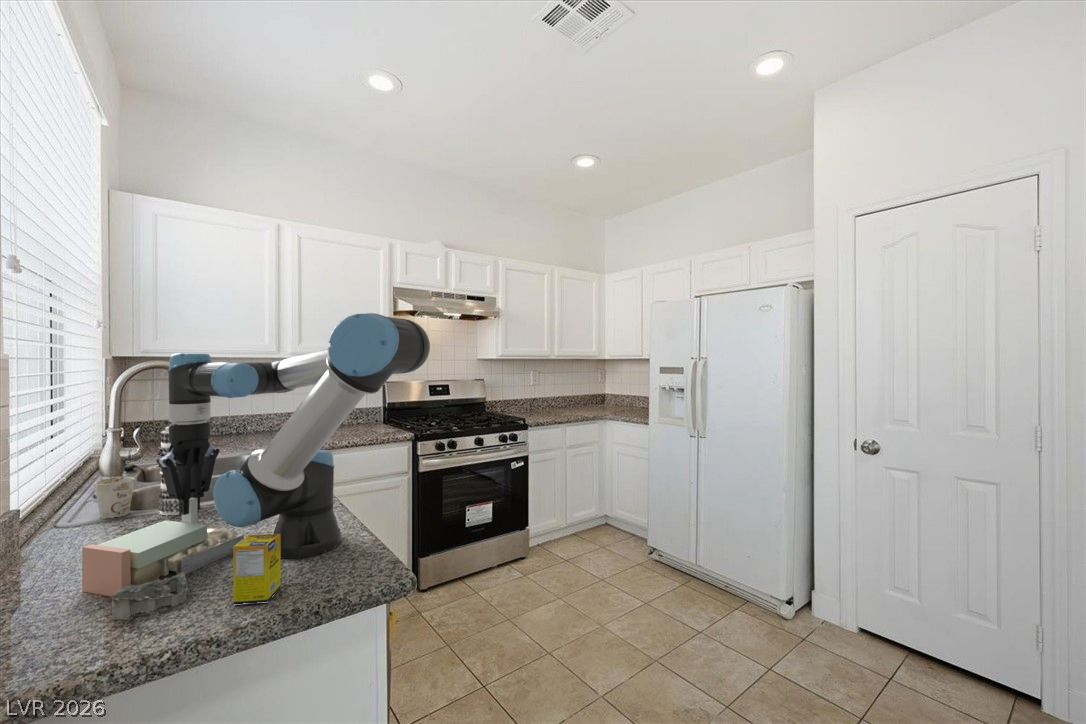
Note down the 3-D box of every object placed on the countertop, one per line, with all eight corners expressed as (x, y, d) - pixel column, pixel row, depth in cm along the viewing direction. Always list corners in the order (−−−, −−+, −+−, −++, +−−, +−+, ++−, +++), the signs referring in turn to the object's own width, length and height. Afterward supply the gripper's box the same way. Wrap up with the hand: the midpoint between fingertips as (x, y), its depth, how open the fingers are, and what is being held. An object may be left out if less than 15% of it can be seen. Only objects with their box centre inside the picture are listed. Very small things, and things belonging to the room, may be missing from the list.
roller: (166, 572, 96) (154, 554, 94) (143, 593, 92) (130, 576, 89) (132, 567, 98) (120, 550, 96) (108, 588, 94) (95, 570, 92)
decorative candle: (153, 511, 137) (154, 425, 137) (192, 504, 144) (192, 422, 144) (161, 518, 131) (161, 429, 131) (200, 510, 139) (201, 425, 138)
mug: (100, 522, 128) (100, 485, 128) (85, 514, 135) (85, 479, 135) (139, 514, 135) (139, 479, 135) (122, 506, 142) (122, 473, 142)
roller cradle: (168, 574, 98) (168, 557, 98) (126, 592, 90) (126, 574, 90) (142, 570, 99) (142, 553, 99) (98, 588, 92) (98, 570, 91)
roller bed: (243, 548, 111) (243, 526, 111) (178, 577, 96) (178, 552, 96) (198, 542, 115) (198, 521, 115) (128, 569, 100) (128, 545, 100)
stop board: (130, 594, 89) (130, 549, 89) (121, 598, 88) (121, 552, 88) (91, 587, 92) (91, 544, 92) (82, 591, 90) (82, 547, 90)
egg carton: (108, 625, 79) (108, 601, 79) (112, 607, 85) (112, 584, 85) (187, 605, 86) (187, 582, 86) (186, 589, 92) (186, 568, 92)
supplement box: (281, 588, 92) (281, 532, 92) (267, 604, 86) (268, 544, 86) (248, 590, 91) (248, 534, 91) (232, 606, 85) (232, 546, 85)
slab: (207, 538, 103) (207, 525, 103) (138, 568, 90) (138, 553, 90) (165, 533, 106) (165, 520, 106) (93, 561, 93) (92, 546, 93)
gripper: (173, 426, 98) (173, 539, 98) (229, 419, 111) (228, 519, 111) (146, 425, 100) (145, 536, 100) (204, 417, 113) (203, 516, 113)
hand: (189, 527), depth 105 cm, fingers closed
